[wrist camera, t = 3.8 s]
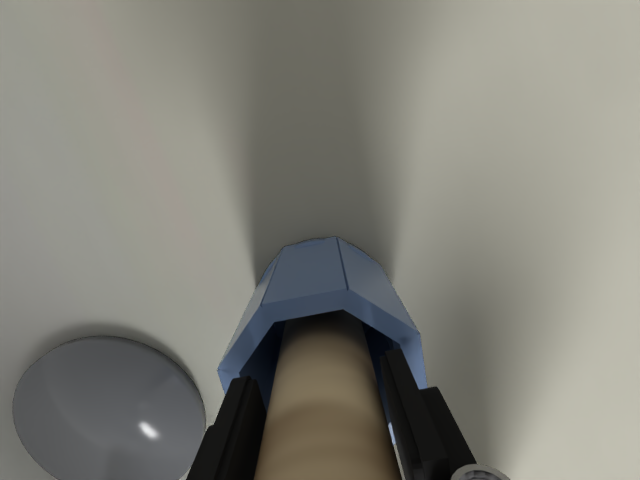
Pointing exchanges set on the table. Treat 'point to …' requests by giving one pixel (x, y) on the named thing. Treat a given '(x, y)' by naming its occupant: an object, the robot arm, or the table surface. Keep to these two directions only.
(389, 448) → the wooden pestle
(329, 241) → the cup
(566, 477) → the table surface
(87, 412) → the coaster
